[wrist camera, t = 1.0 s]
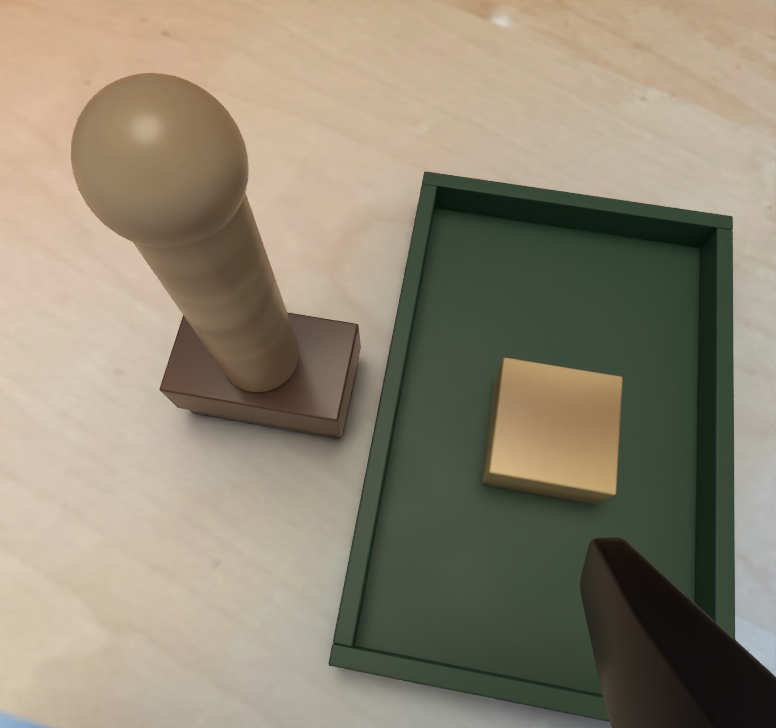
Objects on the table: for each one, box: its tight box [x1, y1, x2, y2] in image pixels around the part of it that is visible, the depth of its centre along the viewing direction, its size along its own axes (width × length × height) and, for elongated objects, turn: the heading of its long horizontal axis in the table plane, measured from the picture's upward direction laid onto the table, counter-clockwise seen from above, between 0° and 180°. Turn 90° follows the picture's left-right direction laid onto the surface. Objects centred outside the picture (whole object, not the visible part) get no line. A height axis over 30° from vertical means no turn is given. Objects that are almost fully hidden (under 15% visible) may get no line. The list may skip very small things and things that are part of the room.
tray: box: [329, 172, 735, 722], centre depth 23 cm, size 18×12×2 cm, turn 170°
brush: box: [71, 73, 361, 438], centre depth 18 cm, size 4×6×15 cm, turn 80°
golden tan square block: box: [481, 358, 623, 505], centre depth 22 cm, size 4×4×2 cm
